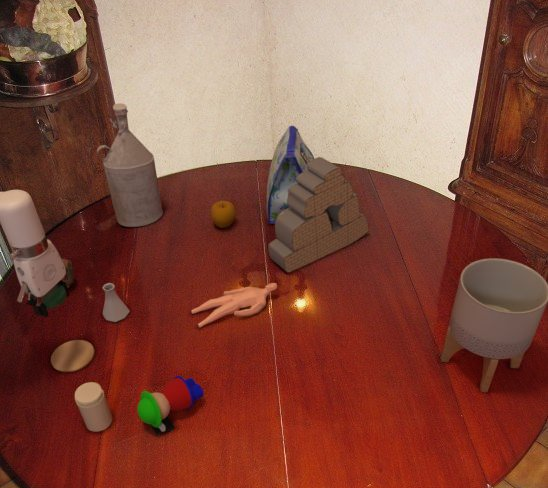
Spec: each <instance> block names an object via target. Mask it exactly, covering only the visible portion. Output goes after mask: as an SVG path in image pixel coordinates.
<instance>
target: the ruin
mask: <svg viewBox="0 0 548 488" xmlns="http://www.w3.org/2000/svg"><path fill="white" fill-rule="evenodd" d="M296 181H297V182H298V183H297V184H294V185H292V186H291V187H290V188H289V190H288V198H287V205H288V206H290V208H288V209H286V210H285V211H284V212H282V213H281V214H280V215H279V216H278V217H277V219H276V223H275V224H274V232H275V237H276V238H275V239H274V240H272V241H270V242H269V244H268V248H267V249H268V255H269V258H270V259H271V260H272V262H274V263H275V264H276V265H277V266H279V267H280V268H281V269H283V270H284V271H285V272H286V273H292V272H294V271H297V270H298V269H301V268H304V267H306V266H307V265H309V264H312V263H314V262H316V261H318V260H320V259H322V258H324V257H327V256H329V255H331V254H333V253H335V252H337V251H339V250H341V249H344V248H346V247H348V246H349V245H351V244H353V243H355V242H357V241H358V240H359V239H361V238H362V237H363V236H365V235H366V234H367V233H369V230H370V228H369V222H368V218H367V215H365V214H363V213H362V212H361V208H360V200H359V195H358V194H356V193H354V186H353V185H352V183H351V182H350V181H348V180H346V177H345V176H344V175H343V170H342V168H341V167H339V166H337V165H335V164H334V163H333V162H331V161H329V160H327V159H325V158H323V157H321V156H317V157H316V158H315V157H314V159H313V160H311V161H310V162H308V163H307V171H305V172H302V173H301V174H299V175H298V176H297V177H296Z"/></svg>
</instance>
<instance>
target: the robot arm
mask: <svg viewBox="0 0 548 488" xmlns="http://www.w3.org/2000/svg"><path fill="white" fill-rule="evenodd" d="M35 206H36V205H35V202H34V201H33V199H32V196H31V195H30V194H29V193H28V192H27V191H24V190H23V189H10V190H5V191H0V225H1V228H2V230H3V233H4V235H5V237H6V240H7V243H8V244H9V247H10V249H11V253H10V254H9V257H10V258H11V259H12V260H13V265H14V266H13V267H14V269H15V273H16V277H17V279H18V282H19V285H20V291H19V294H18V296H17V299H16V302H18V303H20V304H24V305H27V306H32V308H33V311H34V313H35V315H36V316H39V317H44V318H48V317H49V312H48V309H46V307H45V305H44V304H43V303H41V299H42V296H44V295H45V294H46V293H47V292H48V291H49V290H51V289H52V288H53V287H54V286H55V285H56V284H60V285H62V286H63V287H64V288H65V291H66V294H67V297H69V296H70V295H71V294H70V290H68V288H67V285H66V281H67V278H66V274H67V269H66V268H67V265H68V261H69V259H66V258H61V255H60V254H59V251H58V250H57V248H56V247H55V245H54V244H53V242H52V241H51V240H50V239H47V235H46V233H45V230H44V227H43V225H42V222H41V219H40V216H39V215H38V211H37V209H36V207H35ZM34 296H36V300H34Z"/></svg>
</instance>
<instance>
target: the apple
mask: <svg viewBox="0 0 548 488" xmlns="http://www.w3.org/2000/svg"><path fill="white" fill-rule="evenodd" d="M210 208H211V209H210V218H211V220H212V222H213V223H214V224H215V226H217V228H219V229H225V228H228V227H230V226H231V225H232V224H233V222H234V221H235V220H236V217H237V211H236V208H235V206H234V204H233V203H232V202H231V201H228V200H219V201H216V202H215V203H213V204H212V206H211V207H210Z"/></svg>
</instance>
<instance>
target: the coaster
mask: <svg viewBox="0 0 548 488" xmlns="http://www.w3.org/2000/svg"><path fill="white" fill-rule="evenodd" d="M94 356H95V348H94V346H93V344H92V343H90V342H89V341H88V340H83V339H73V340H68V341H67V342H64V343H62V344H60V345H59V346H57V347H56V349H54V350H53V352H52V354H51V356H50V363H51V365H52V368H54V369H55V370H56V371H59V372H62V373H72V372H76V371H79V370H82V369H83V368H85V367H86V366H88V365H89V364H90V363H91V362H92V360H93V359H94Z"/></svg>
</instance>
